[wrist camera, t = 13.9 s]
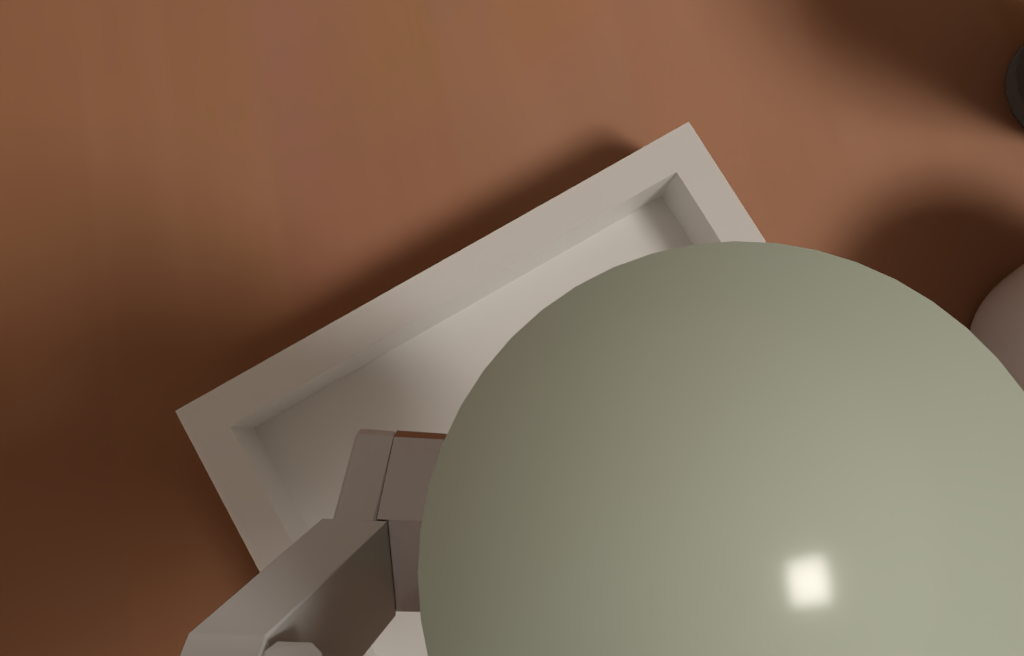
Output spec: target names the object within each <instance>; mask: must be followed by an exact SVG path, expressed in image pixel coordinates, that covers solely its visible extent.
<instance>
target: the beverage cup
mask: <svg viewBox="0 0 1024 656" xmlns="http://www.w3.org/2000/svg"><path fill="white" fill-rule="evenodd" d="M1005 81H1006V97H1007V99H1008V102H1009V105H1010V107H1011V110H1012V112H1013V115H1014V116H1015V117H1016V118H1017V120H1018V121H1019V122H1020V123H1021V125H1022V126H1023V127H1024V45H1023V46H1021V47H1020V49H1019V50H1018V51H1017V53H1016V54H1015V56H1014V57H1013V58H1012V60H1011V61H1010V64H1009V68H1008V71H1007V75H1006V78H1005Z"/></svg>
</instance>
